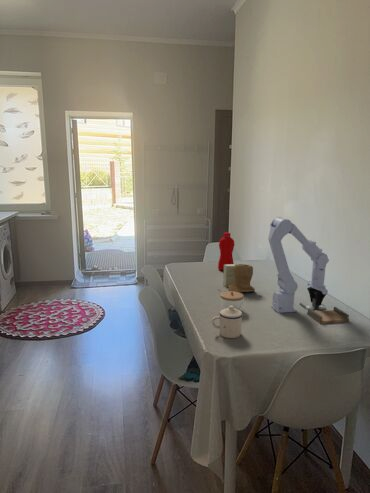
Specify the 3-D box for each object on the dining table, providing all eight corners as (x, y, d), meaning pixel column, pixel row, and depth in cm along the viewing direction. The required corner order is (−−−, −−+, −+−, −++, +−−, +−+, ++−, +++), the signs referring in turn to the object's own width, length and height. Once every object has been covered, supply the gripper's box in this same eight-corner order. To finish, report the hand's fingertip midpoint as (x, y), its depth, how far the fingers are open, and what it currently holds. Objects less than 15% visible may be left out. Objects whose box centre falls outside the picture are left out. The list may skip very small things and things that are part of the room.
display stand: (320, 323, 160) (320, 317, 159) (307, 314, 170) (307, 308, 170) (348, 321, 163) (349, 315, 162) (334, 312, 173) (334, 306, 173)
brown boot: (250, 287, 209) (251, 261, 206) (257, 294, 198) (258, 266, 195) (224, 287, 207) (225, 262, 204) (229, 294, 196) (230, 267, 193)
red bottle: (236, 268, 248) (237, 232, 243) (229, 272, 239) (230, 234, 234) (223, 266, 253) (225, 230, 248) (216, 270, 244) (217, 232, 239)
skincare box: (225, 287, 209) (226, 266, 206) (222, 284, 213) (223, 264, 211) (235, 286, 210) (236, 265, 208) (232, 284, 215) (233, 263, 212)
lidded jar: (216, 307, 177) (216, 289, 175) (235, 305, 181) (236, 286, 179) (226, 316, 167) (227, 296, 165) (247, 313, 171) (248, 293, 169)
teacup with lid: (239, 329, 154) (240, 302, 151) (243, 338, 145) (244, 310, 142) (210, 328, 153) (211, 302, 151) (212, 338, 145) (213, 310, 142)
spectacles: (307, 310, 175) (308, 300, 174) (299, 304, 183) (300, 295, 182) (327, 309, 177) (328, 299, 176) (318, 303, 185) (319, 294, 184)
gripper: (334, 280, 169) (331, 308, 172) (317, 272, 183) (315, 298, 185) (320, 281, 167) (318, 309, 170) (304, 272, 181) (302, 299, 184)
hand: (315, 303), depth 178 cm, fingers open, 4 cm apart
